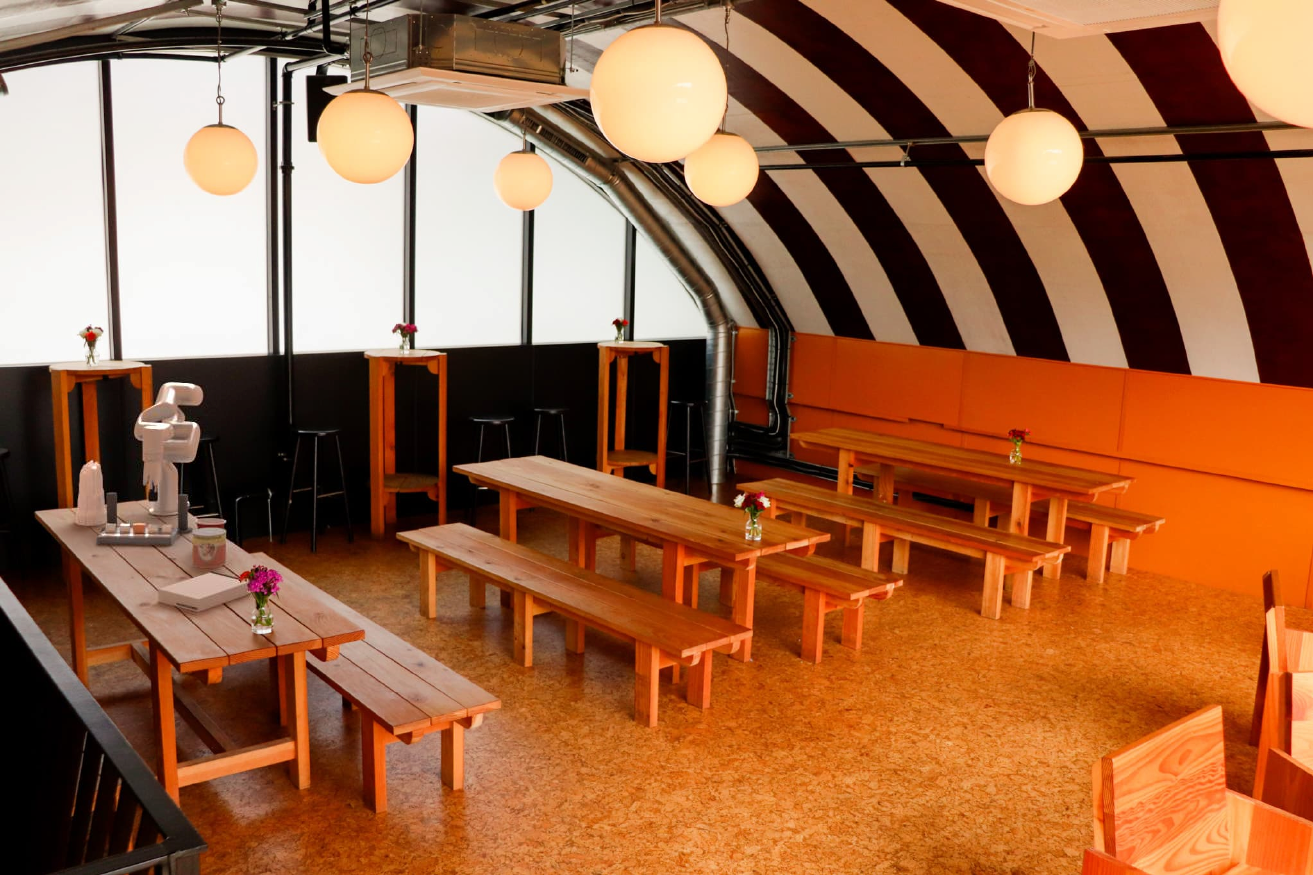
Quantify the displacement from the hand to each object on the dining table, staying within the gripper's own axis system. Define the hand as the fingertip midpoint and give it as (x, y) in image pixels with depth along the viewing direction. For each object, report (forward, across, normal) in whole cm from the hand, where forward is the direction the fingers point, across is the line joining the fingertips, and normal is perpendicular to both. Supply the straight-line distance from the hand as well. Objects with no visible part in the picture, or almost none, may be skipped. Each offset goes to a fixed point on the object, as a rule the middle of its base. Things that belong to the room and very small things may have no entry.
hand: (153, 501), depth 421 cm
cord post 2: (+10, +9, +13) cm, 19 cm away
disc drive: (+11, +89, +36) cm, 97 cm away
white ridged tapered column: (+10, -3, -24) cm, 26 cm away
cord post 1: (+10, +9, -13) cm, 19 cm away
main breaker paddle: (+7, +22, 0) cm, 23 cm away
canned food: (+10, +51, +31) cm, 60 cm away
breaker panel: (+10, +22, 0) cm, 24 cm away
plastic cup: (+10, +35, +28) cm, 46 cm away
